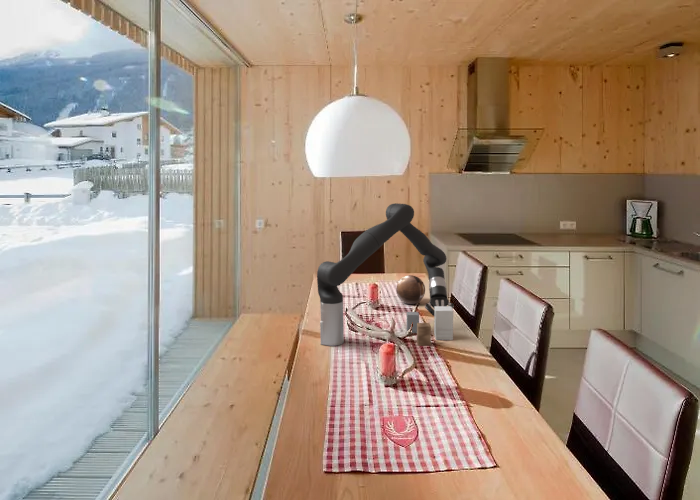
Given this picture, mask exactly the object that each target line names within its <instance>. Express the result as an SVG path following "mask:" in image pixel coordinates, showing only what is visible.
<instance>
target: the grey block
mask: <svg viewBox="0 0 700 500" xmlns="http://www.w3.org/2000/svg"><path fill="white" fill-rule="evenodd" d="M412 322H413V327H412V333H411V334H417V323H420V313H419V311H406V332H407V331H408V330H409V329H410V327H411V324H412Z"/></svg>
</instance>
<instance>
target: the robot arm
mask: <svg viewBox="0 0 700 500" xmlns="http://www.w3.org/2000/svg"><path fill="white" fill-rule="evenodd" d="M414 216H415V210H414V208H413V206H411V205H410V204H407V203H398V202H397V203H391V204H389V205H388V206H387V208H386V210H385V217H386V220H385V221H383V222H381V223H379V224H376V225H374V226H371V227H369V228H367V229H366V230H365V231H364V232H362V233H361V234H359V236H357V238H355V240H354V241H353V243H352V244H351V247H350V250H349V252H348V253H347V254H346V255H345V256H344V257H343V258H341V259H340V260H338V262H334V261H329V260H328V261H327V260H326V261H323V262H321V263H320V264H319V266H318V268H317V271H316V272H317V273H316V281H317V282H316V283H317V292H318V293H317V294H318V296H319V302H320V306H319V307H320V322H319V328H320V329H319V330H320V345H322V346H323V345H324V346H331V347H332V346H340V345H343V344H344V342H345V341H344V340H345V336H344V335H345V334H344V295H343V293H342V292H341V291H340V289H339V287H338V286H341V285H342V284H344V283H345V282H346V281H347V279H349V278H350V277H351V275H352V274H353V273H354V272H355V271H356V270H357V268H358V267H359V266H361V265H362V264H363V263H364V262H365V261H366V260H368V258H369V257H371V256H372V255H373V254H374V253H375V252H377V251H378V250H379V249H380V248H381V247H382V246H383V245H384V244H385V243H386V242H387V241H388V240H390V239H391V238H392V237H393V236H394V235H395V234H397V233H398V232H400V233H401V234H402V235H404V236H405V237H406V238H407V240H409V242H410V243H411V244H412V245H413V246H414V248H415V249H416V250H417V251H418V252H419V254H420V255H422V256H424V257H423V259H422V260H423V264H424V266H425V268H426V272H427V273H428V282H429V283H428V290H429V302H428V303H425V305H424V308H425V310H427V311H428V312H429V313H430V315H432V317H434V306H451V307H452V309H454V307H455V306H454V305H455V304H454V302H453V303H451V302H450V300H449V299H448V292H447V283H446V280H445V272H444V270H443V268H442V267H440V266H442V265H445V264H446V263H447V258H448V257H447V254H446V253H445V252H444V251H443V250H442V249H441V248H439V247H438V246H436V245H435V244H433V243H432V242H431V240H430V239H429V238H428V237H427V235H426V234H425V233H423V232H422V231H421V230H420V229H418V228H417V227H416V226H414V225H413V224H412V223H411V222H412V221H413V220H414Z"/></svg>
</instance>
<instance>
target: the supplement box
mask: <svg viewBox="0 0 700 500" xmlns="http://www.w3.org/2000/svg"><path fill="white" fill-rule="evenodd" d="M433 309H434V316H433V317H434V318H433V319H434V321H433V322H434V329H433V331H434V334H433V335H434V338H435V339H434V340H435V341H453V340H454V310H453V309H454V308H453V309H452V307H451V306H448V305H447V306H434V308H433Z"/></svg>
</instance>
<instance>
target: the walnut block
mask: <svg viewBox="0 0 700 500" xmlns="http://www.w3.org/2000/svg"><path fill="white" fill-rule="evenodd" d="M431 339H432V326H431V323H430V322H419V323H417V333H416V343H417V346H418V347H429V346H430V347H431V346H432V340H431Z"/></svg>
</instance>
